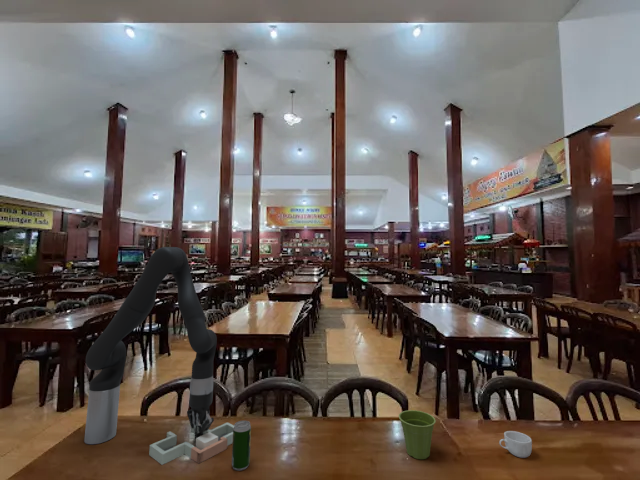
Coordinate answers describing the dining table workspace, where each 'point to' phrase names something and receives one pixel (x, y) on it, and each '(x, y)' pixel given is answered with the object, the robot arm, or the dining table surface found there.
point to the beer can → (241, 445)
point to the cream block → (206, 440)
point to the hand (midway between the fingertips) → (198, 443)
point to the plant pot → (417, 432)
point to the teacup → (517, 443)
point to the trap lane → (191, 446)
